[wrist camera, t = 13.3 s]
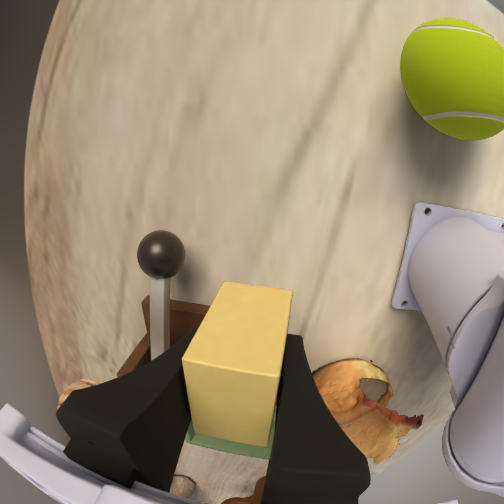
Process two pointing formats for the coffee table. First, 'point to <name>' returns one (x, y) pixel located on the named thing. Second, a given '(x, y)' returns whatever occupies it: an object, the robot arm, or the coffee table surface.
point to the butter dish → (231, 443)
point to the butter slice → (238, 363)
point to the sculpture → (182, 486)
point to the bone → (363, 408)
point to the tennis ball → (455, 78)
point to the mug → (252, 501)
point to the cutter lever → (160, 282)
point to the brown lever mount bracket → (180, 325)
